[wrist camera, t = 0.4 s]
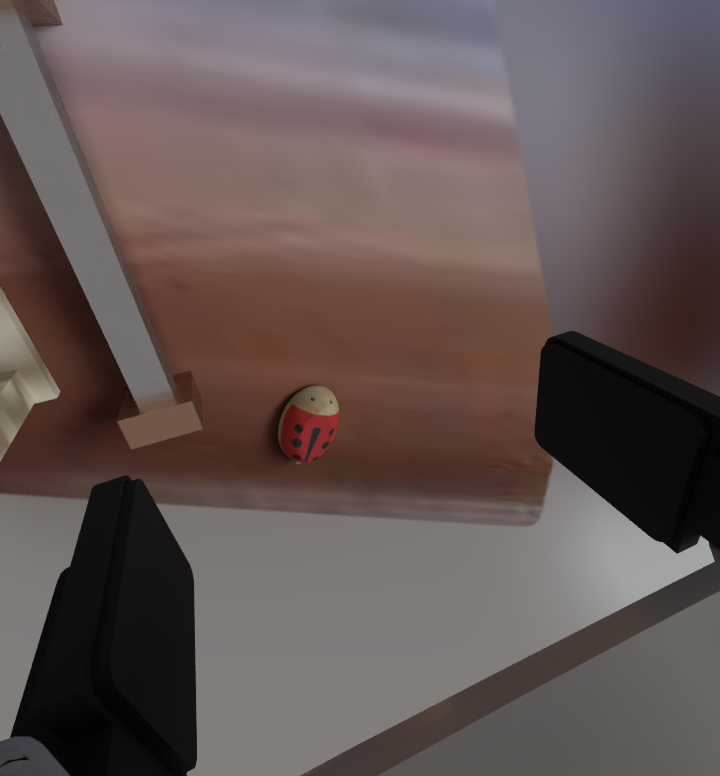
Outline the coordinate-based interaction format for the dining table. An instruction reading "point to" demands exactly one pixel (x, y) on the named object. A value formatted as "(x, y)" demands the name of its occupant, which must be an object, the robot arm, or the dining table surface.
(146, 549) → the robot arm
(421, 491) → the dining table surface
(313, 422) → the ladybug figurine
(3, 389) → the hanger stand
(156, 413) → the steel bar
